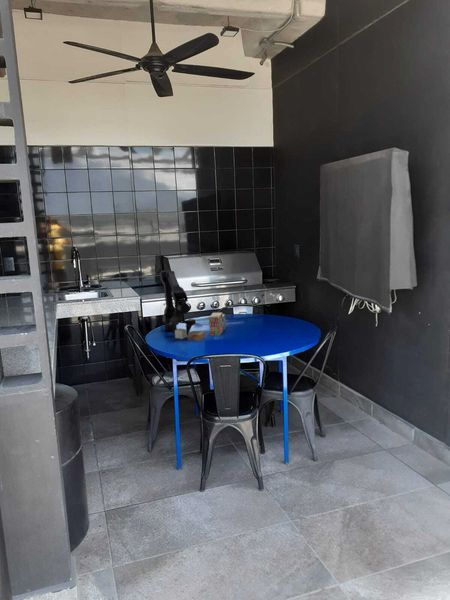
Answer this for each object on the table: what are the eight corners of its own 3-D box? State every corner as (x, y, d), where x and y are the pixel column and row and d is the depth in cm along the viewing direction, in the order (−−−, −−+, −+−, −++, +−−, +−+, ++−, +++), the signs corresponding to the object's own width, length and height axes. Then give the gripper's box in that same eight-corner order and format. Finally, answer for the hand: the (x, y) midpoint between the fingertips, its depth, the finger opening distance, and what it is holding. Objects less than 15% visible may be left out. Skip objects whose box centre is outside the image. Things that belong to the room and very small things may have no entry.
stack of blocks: (216, 327, 303) (215, 309, 301) (225, 327, 302) (225, 309, 299) (209, 335, 282) (208, 316, 280) (219, 336, 281) (218, 316, 279)
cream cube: (175, 338, 279) (174, 330, 278) (179, 336, 283) (178, 328, 282) (182, 338, 277) (182, 330, 276) (186, 336, 281) (186, 328, 280)
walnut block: (188, 340, 273) (187, 334, 273) (193, 337, 281) (193, 330, 280) (200, 341, 271) (200, 335, 270) (205, 338, 278) (205, 331, 277)
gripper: (159, 312, 273) (160, 337, 276) (186, 314, 266) (187, 339, 269) (168, 308, 283) (170, 332, 286) (195, 310, 276) (196, 335, 279)
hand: (180, 335), depth 280 cm, fingers open, 9 cm apart
